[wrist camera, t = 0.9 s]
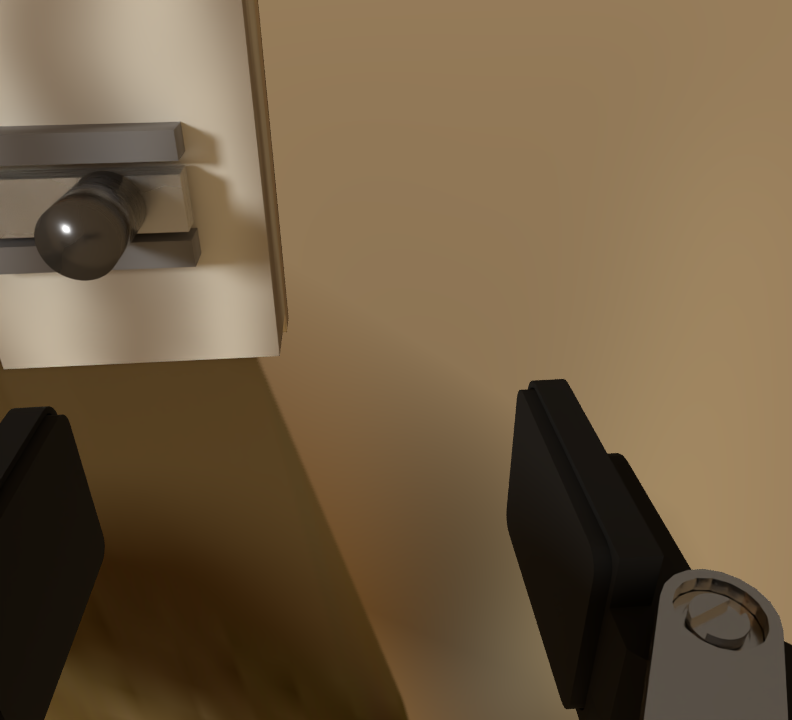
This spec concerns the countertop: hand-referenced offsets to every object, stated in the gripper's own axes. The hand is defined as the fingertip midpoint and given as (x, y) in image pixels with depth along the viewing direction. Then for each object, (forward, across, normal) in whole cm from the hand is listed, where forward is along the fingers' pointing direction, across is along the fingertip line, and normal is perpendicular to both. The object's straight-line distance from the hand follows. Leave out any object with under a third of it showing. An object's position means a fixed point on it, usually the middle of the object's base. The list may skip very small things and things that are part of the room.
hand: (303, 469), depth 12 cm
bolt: (+16, +9, 0) cm, 18 cm away
